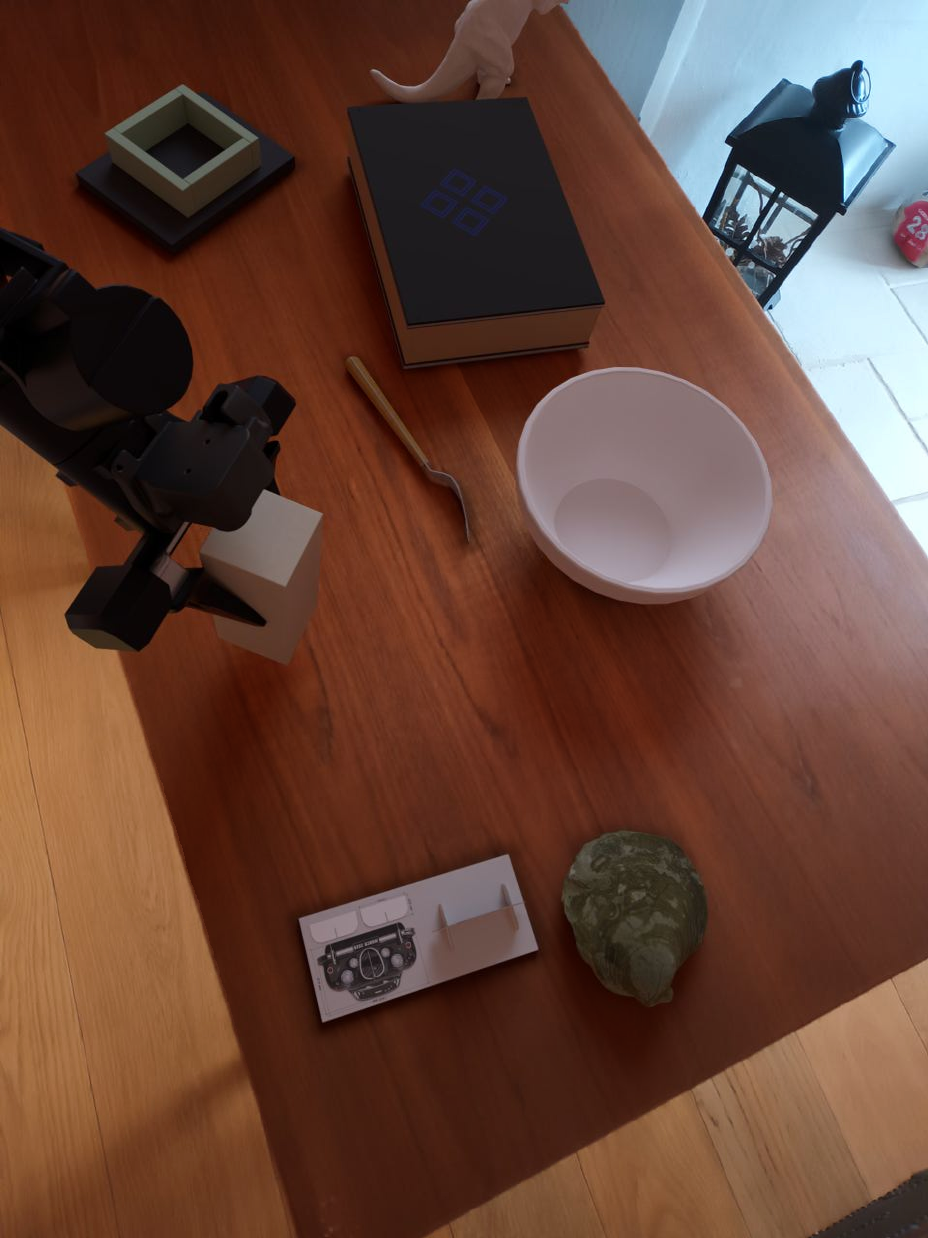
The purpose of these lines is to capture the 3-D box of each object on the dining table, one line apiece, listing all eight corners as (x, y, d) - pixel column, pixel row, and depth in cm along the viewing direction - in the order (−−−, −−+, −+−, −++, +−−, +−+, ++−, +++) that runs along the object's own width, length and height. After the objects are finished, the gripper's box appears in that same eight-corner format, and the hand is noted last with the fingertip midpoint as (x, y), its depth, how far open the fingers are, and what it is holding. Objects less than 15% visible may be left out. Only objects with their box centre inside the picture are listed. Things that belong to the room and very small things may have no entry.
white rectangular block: (217, 637, 62) (197, 551, 50) (250, 575, 64) (240, 478, 52) (287, 666, 62) (285, 587, 50) (318, 603, 64) (323, 513, 52)
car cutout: (507, 854, 62) (519, 845, 58) (537, 950, 60) (552, 947, 56) (298, 918, 58) (295, 914, 54) (322, 1022, 56) (321, 1026, 52)
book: (514, 156, 89) (527, 95, 83) (586, 353, 80) (606, 301, 74) (346, 168, 85) (347, 105, 79) (402, 375, 76) (407, 323, 70)
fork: (336, 357, 74) (466, 534, 69) (354, 346, 75) (485, 521, 69) (343, 373, 77) (469, 545, 71) (360, 362, 77) (488, 533, 72)
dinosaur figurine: (539, 57, 95) (572, -96, 81) (569, 119, 92) (608, -30, 78) (361, 73, 90) (365, -87, 77) (386, 139, 87) (395, -16, 74)
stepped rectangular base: (174, 255, 78) (165, 217, 74) (78, 183, 80) (65, 143, 76) (295, 166, 84) (293, 127, 80) (204, 101, 86) (198, 60, 82)
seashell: (685, 814, 63) (736, 909, 54) (692, 894, 66) (741, 997, 56) (546, 840, 63) (573, 940, 53) (559, 919, 66) (586, 1027, 56)
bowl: (552, 674, 67) (583, 629, 59) (460, 467, 74) (476, 398, 65) (762, 601, 72) (820, 550, 64) (660, 413, 79) (700, 342, 70)
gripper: (52, 558, 38) (292, 726, 48) (253, 271, 46) (425, 467, 55) (-38, 565, 46) (185, 709, 55) (147, 317, 53) (316, 483, 63)
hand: (282, 588), depth 57 cm, fingers closed on white rectangular block, 5 cm apart
